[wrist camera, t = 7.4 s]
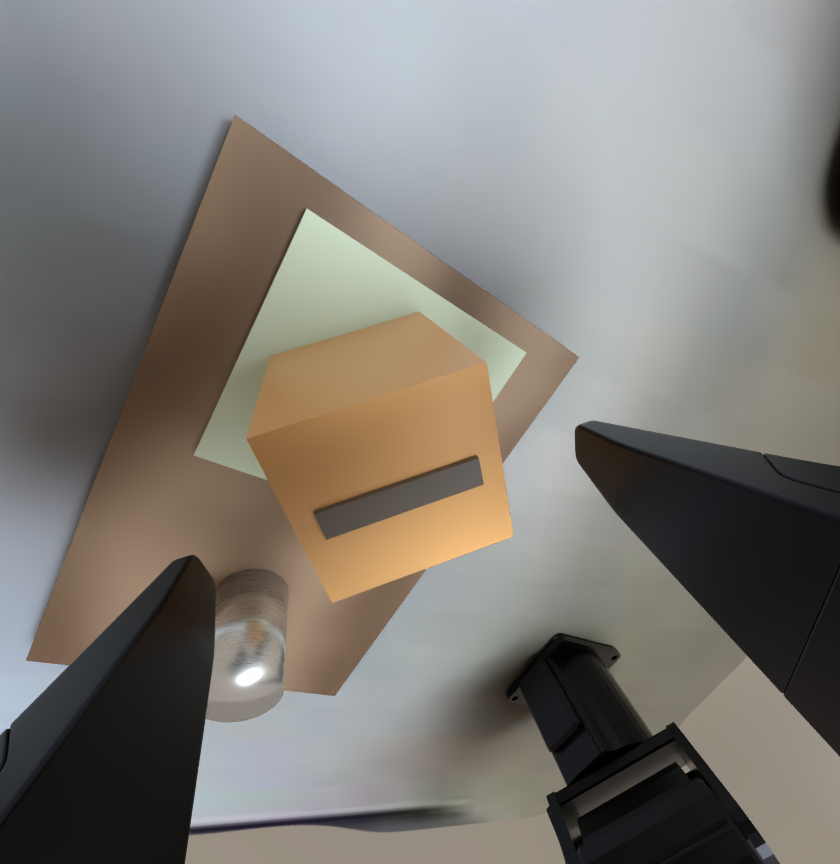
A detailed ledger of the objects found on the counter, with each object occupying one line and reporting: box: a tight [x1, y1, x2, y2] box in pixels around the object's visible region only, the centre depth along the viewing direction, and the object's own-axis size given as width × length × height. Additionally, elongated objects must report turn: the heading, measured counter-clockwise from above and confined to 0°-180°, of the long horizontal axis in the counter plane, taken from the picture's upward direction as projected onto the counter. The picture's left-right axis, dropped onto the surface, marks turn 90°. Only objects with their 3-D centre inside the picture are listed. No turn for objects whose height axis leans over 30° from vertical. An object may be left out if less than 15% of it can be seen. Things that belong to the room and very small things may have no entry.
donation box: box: [246, 312, 513, 603], centre depth 12 cm, size 5×5×6 cm
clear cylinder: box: [206, 569, 289, 722], centre depth 16 cm, size 3×3×4 cm
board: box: [26, 115, 579, 696], centre depth 17 cm, size 14×22×1 cm, turn 148°
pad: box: [194, 209, 526, 480], centre depth 15 cm, size 9×9×1 cm
